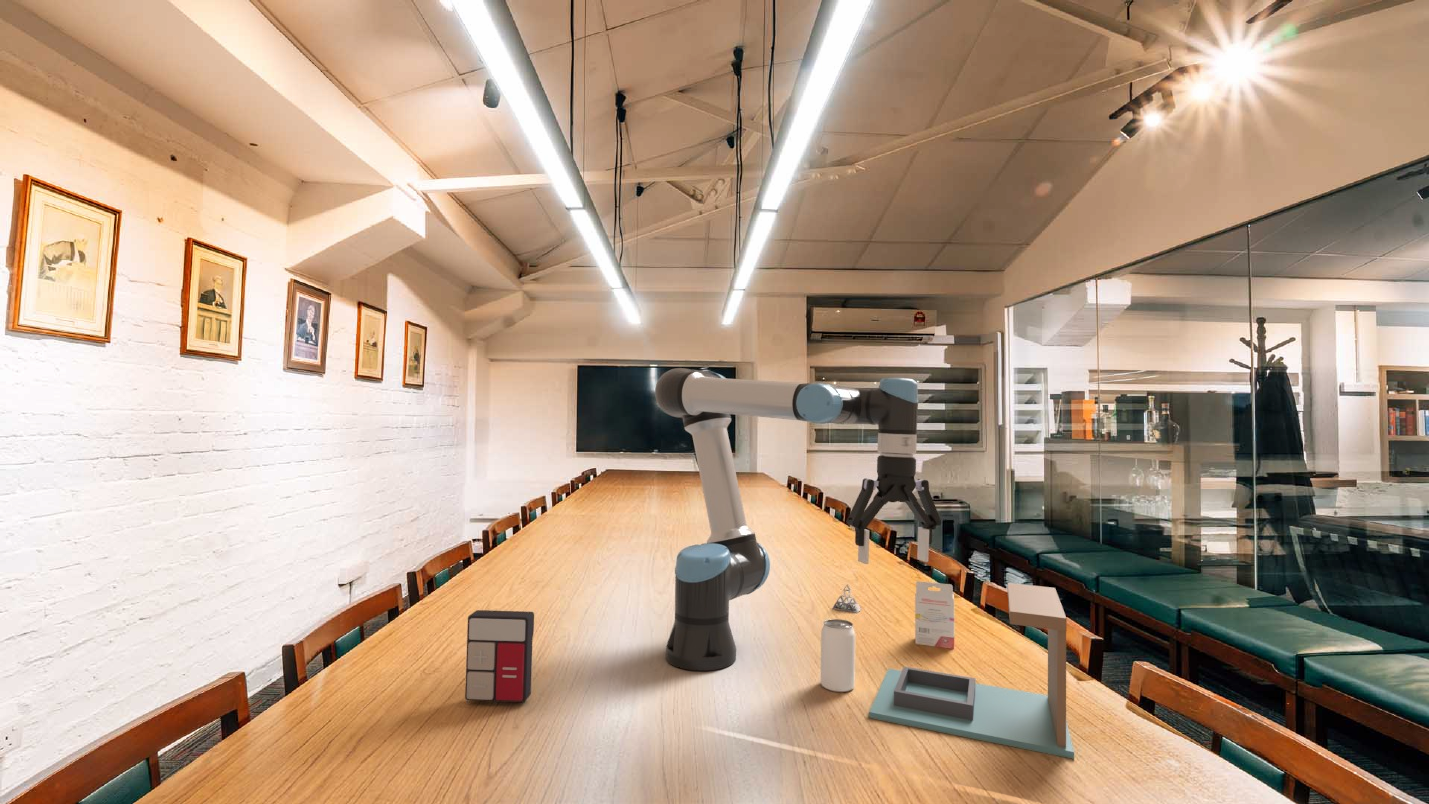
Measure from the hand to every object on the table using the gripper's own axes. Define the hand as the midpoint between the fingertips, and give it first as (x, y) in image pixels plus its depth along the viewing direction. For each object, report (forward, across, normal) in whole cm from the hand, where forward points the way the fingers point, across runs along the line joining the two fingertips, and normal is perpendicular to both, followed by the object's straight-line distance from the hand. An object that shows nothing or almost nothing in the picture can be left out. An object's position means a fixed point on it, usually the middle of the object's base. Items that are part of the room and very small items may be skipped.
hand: (893, 561), depth 128 cm
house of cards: (+24, +16, +45) cm, 54 cm away
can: (+24, -12, 0) cm, 26 cm away
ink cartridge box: (+24, +22, +16) cm, 36 cm away
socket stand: (+23, +2, -12) cm, 26 cm away
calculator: (+25, -74, +10) cm, 79 cm away
